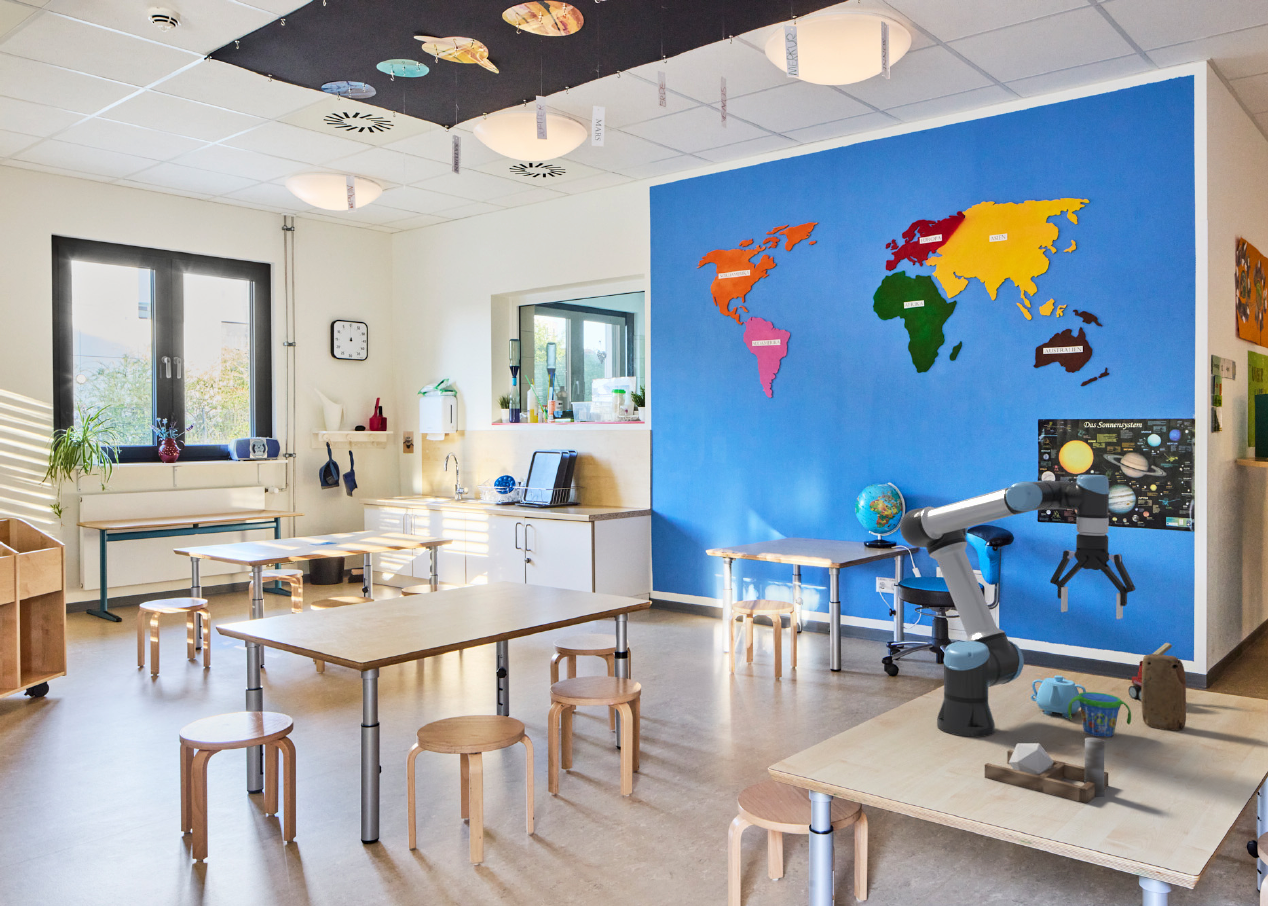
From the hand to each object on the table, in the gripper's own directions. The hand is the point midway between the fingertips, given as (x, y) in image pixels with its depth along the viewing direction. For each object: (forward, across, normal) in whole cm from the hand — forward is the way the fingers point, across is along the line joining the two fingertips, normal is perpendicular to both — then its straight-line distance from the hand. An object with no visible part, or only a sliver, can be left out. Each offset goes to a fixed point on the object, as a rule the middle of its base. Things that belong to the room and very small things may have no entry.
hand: (1091, 615), depth 243 cm
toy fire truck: (+35, -1, -62) cm, 71 cm away
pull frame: (+34, -2, +35) cm, 49 cm away
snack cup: (+35, +2, -14) cm, 38 cm away
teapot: (+35, +17, -26) cm, 47 cm away
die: (+35, +2, +35) cm, 49 cm away
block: (+35, -9, -34) cm, 50 cm away
